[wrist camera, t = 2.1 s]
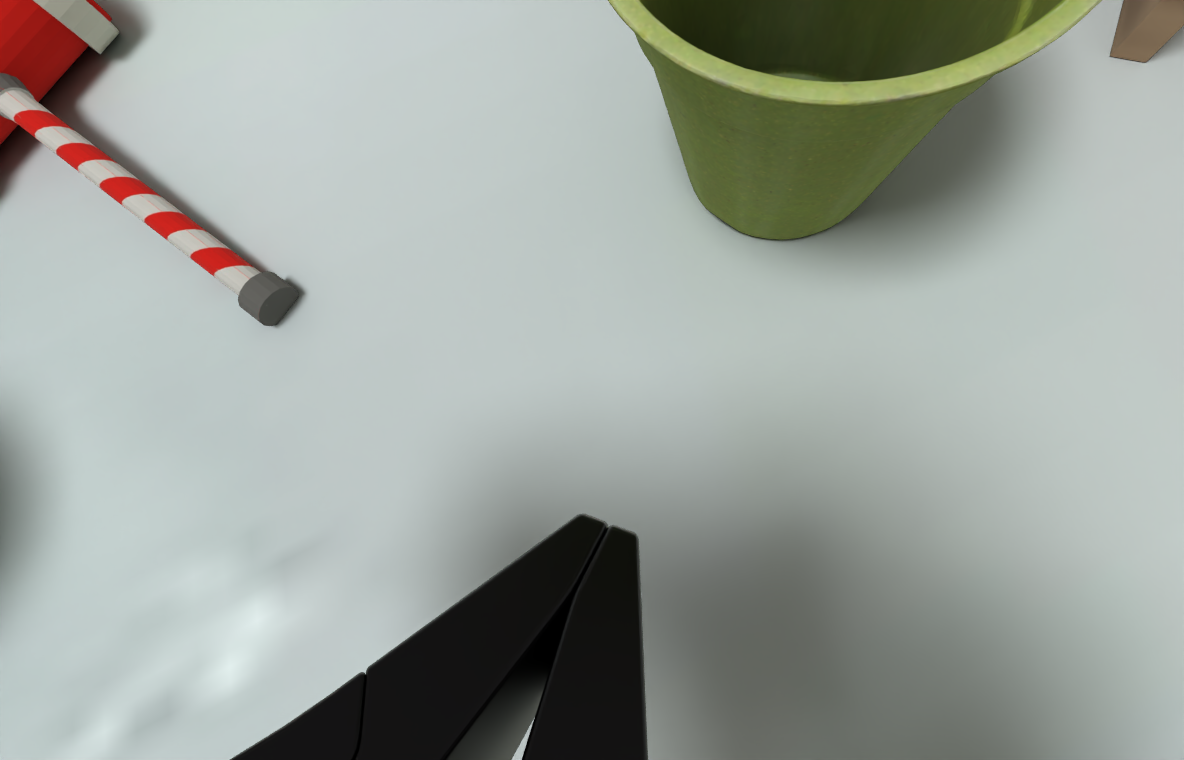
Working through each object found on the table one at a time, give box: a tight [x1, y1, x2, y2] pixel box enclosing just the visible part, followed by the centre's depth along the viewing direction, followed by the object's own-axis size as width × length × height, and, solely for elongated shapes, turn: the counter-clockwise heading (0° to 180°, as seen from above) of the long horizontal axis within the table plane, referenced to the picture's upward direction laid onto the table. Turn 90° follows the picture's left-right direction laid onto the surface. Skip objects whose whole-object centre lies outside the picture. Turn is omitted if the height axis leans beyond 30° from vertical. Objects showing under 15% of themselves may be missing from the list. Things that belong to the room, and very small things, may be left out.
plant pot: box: [608, 0, 1102, 239], centre depth 18 cm, size 12×12×11 cm
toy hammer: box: [0, 0, 298, 326], centre depth 26 cm, size 23×12×6 cm, turn 53°
